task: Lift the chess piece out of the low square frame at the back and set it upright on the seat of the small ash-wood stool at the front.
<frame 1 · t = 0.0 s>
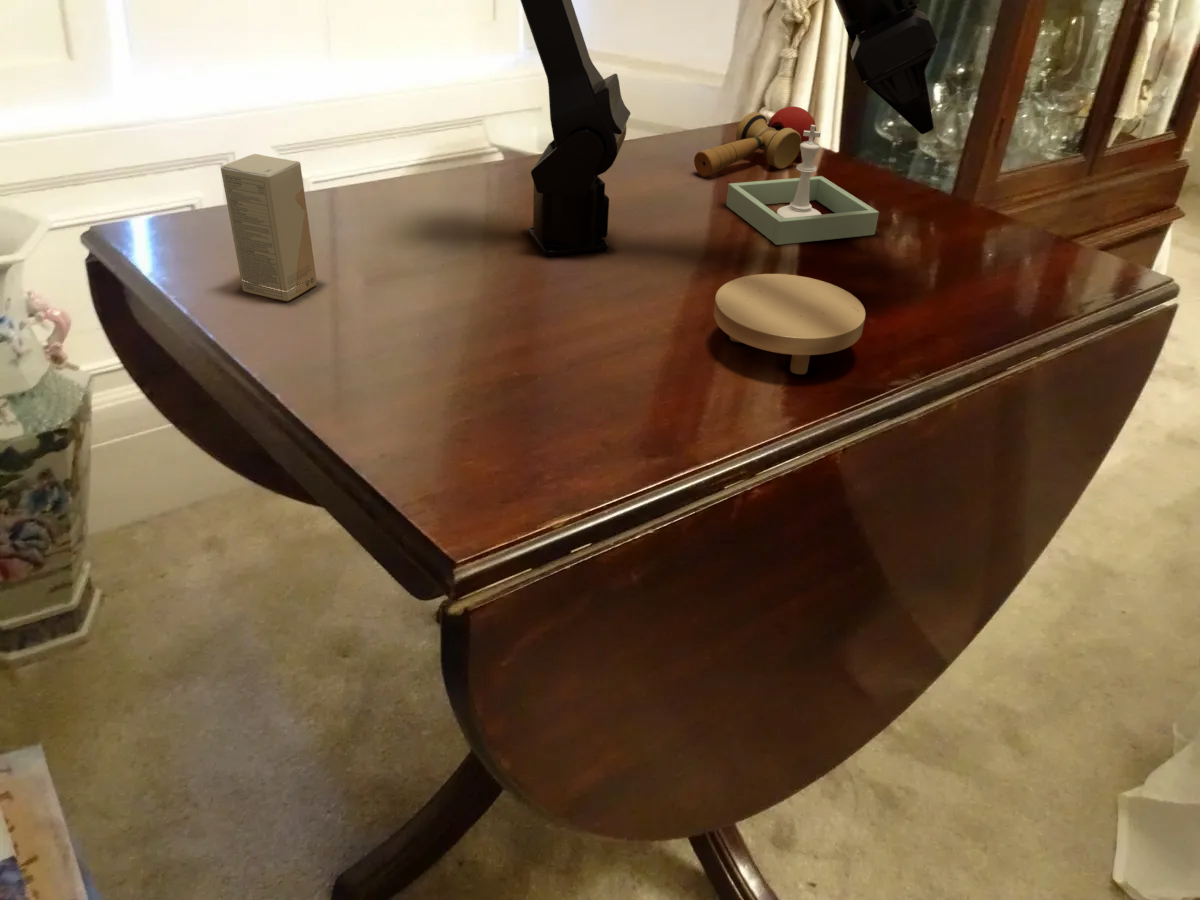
hand: (922, 116, 91), 15 cm above the table, tool tilted 35°, fingers open, 9 cm apart
square frame: (798, 220, 111), on the table
stool: (783, 348, 85), on the table
chess piece: (798, 221, 111), resting in square frame
box: (279, 290, 91), on the table
kendama: (754, 166, 126), on the table
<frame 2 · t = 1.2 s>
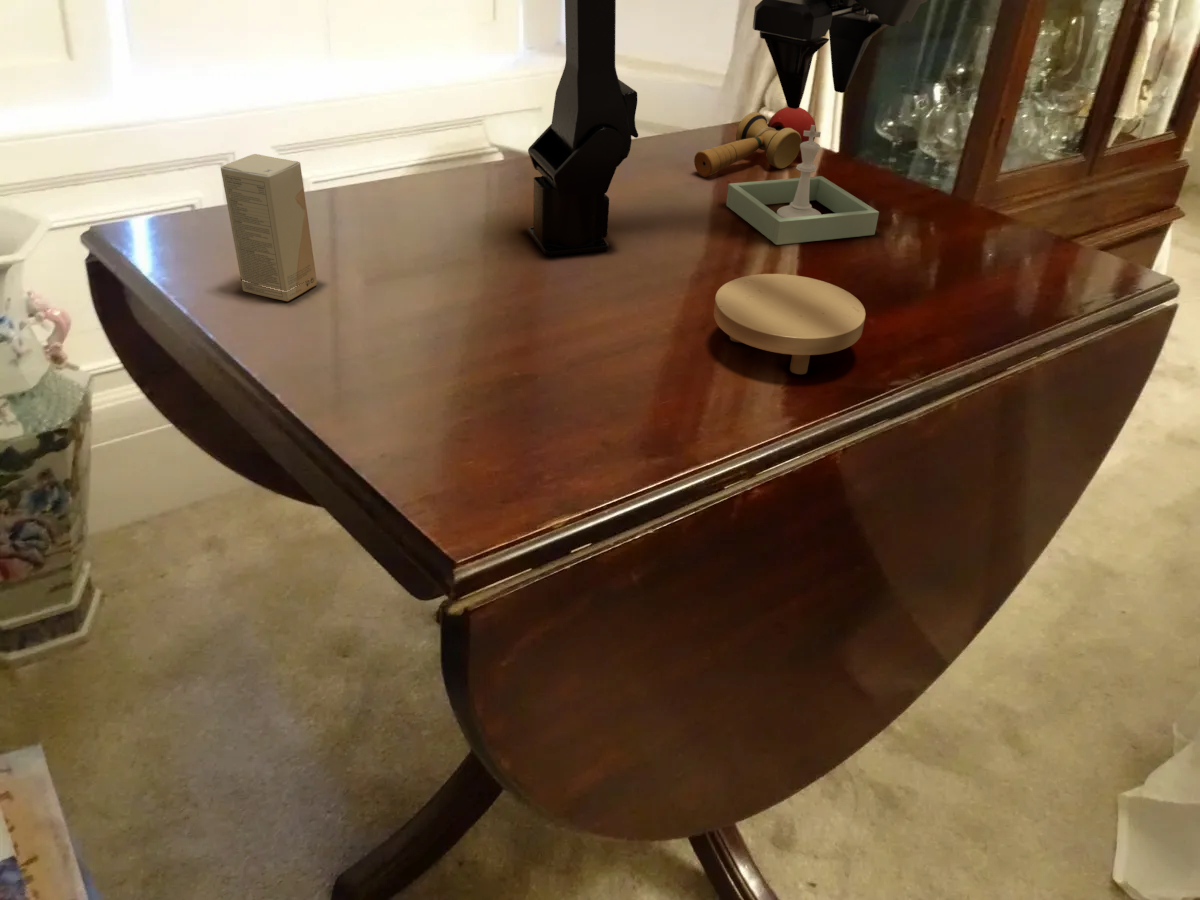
hand: (817, 99, 104), 13 cm above the table, tool pointing down, fingers open, 9 cm apart
nothing on the table moved.
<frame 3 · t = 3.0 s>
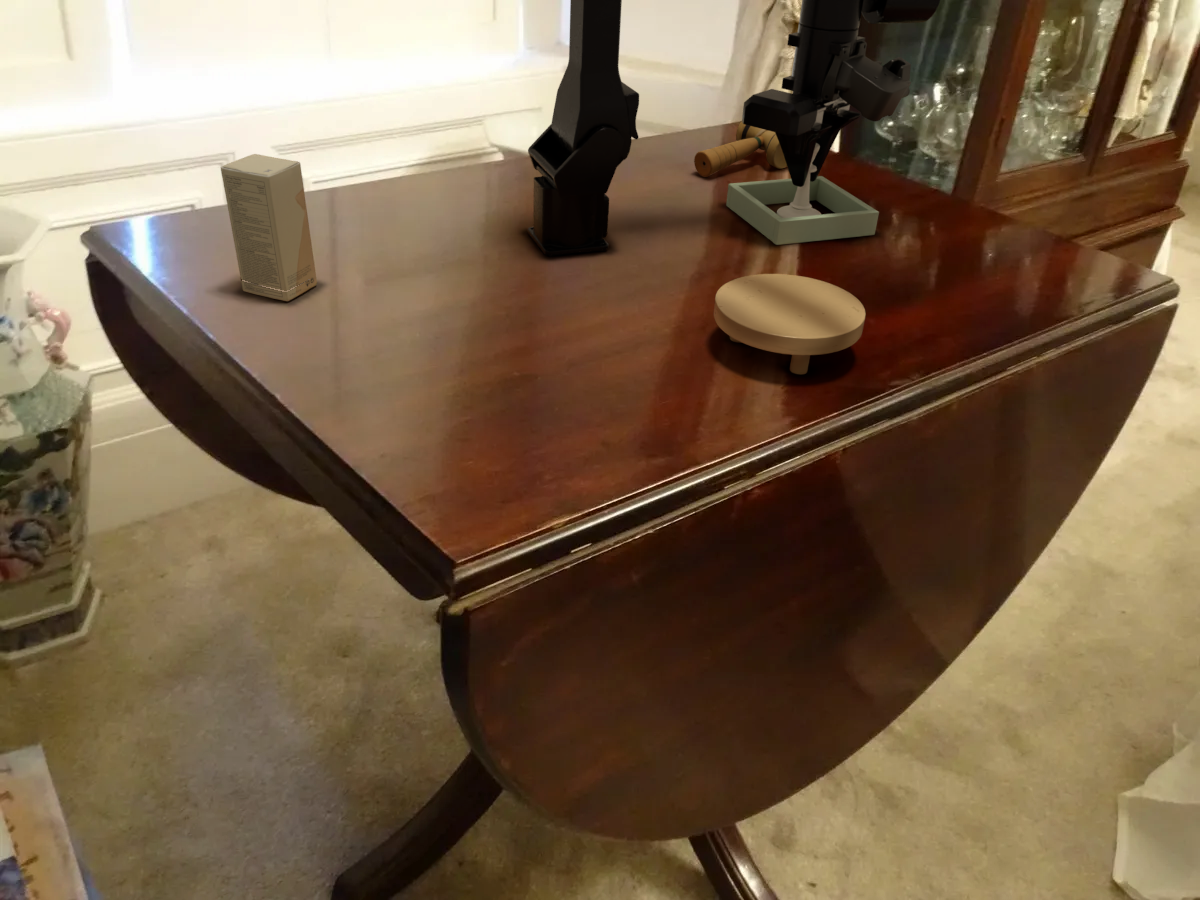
hand: (804, 183, 108), 4 cm above the table, tool pointing down, fingers closed on chess piece, 2 cm apart
chess piece: (798, 221, 111), resting in square frame, touching gripper
everything else where it was.
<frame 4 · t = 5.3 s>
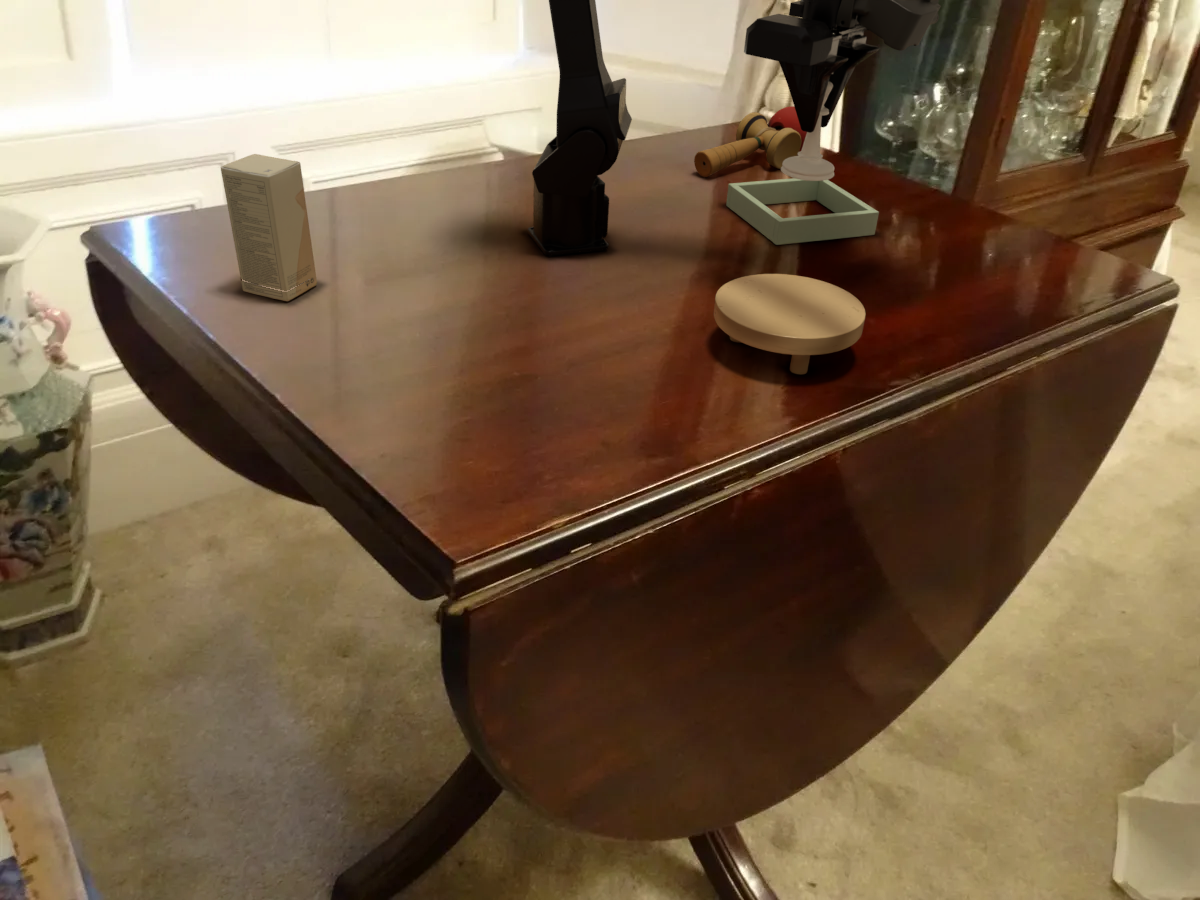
hand: (813, 129, 94), 13 cm above the table, tool pointing down, fingers closed on chess piece, 2 cm apart
chess piece: (807, 174, 96), point 9 cm above the table, touching gripper
everything else where it was.
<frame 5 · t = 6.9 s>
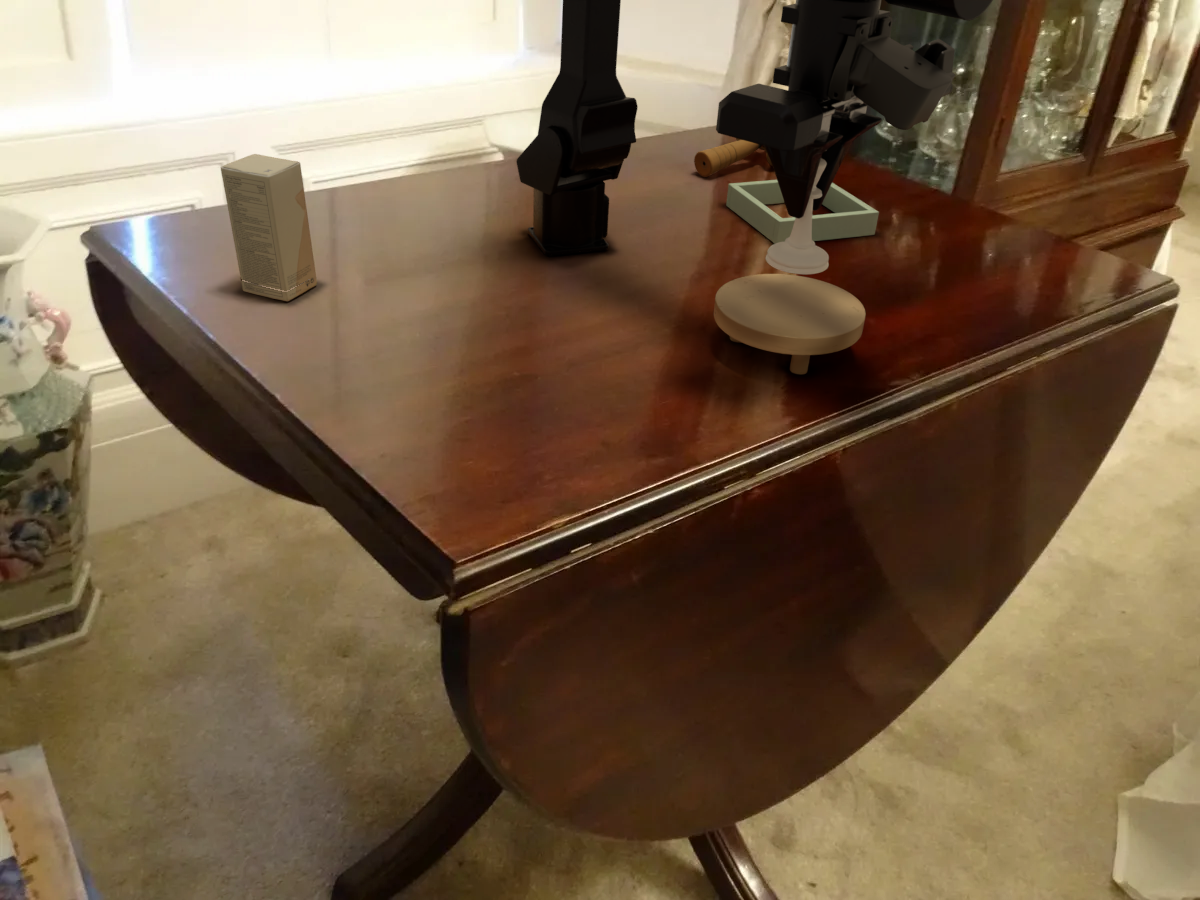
hand: (803, 213, 79), 12 cm above the table, tool pointing down, fingers closed on chess piece, 2 cm apart
chess piece: (796, 264, 81), point 7 cm above the table, touching gripper
everything else where it was.
when the fingers open (8 cm above the table, at t = 7.9 s): chess piece stays where it is, resting on stool.
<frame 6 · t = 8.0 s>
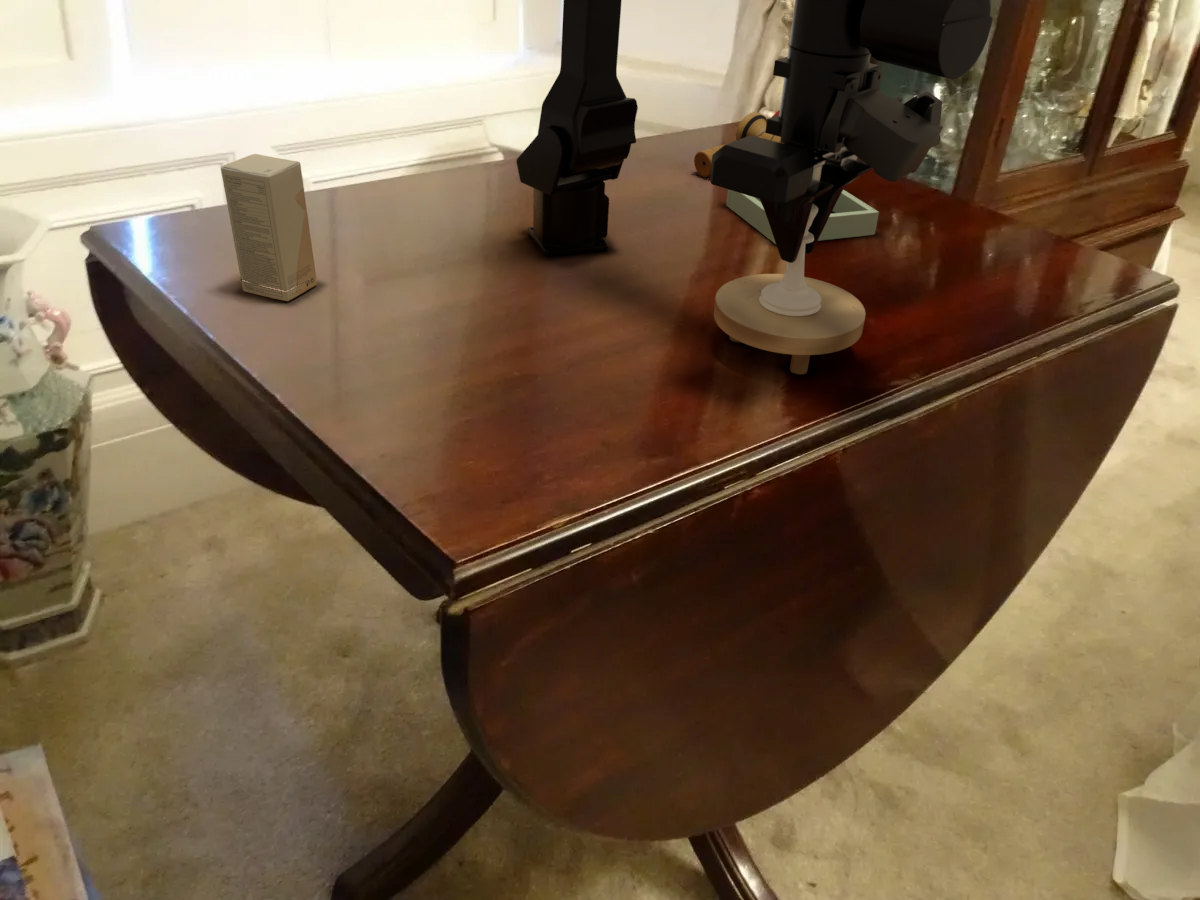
hand: (796, 256, 81), 8 cm above the table, tool pointing down
chess piece: (789, 305, 83), point 4 cm above the table, touching stool
everything else where it was.
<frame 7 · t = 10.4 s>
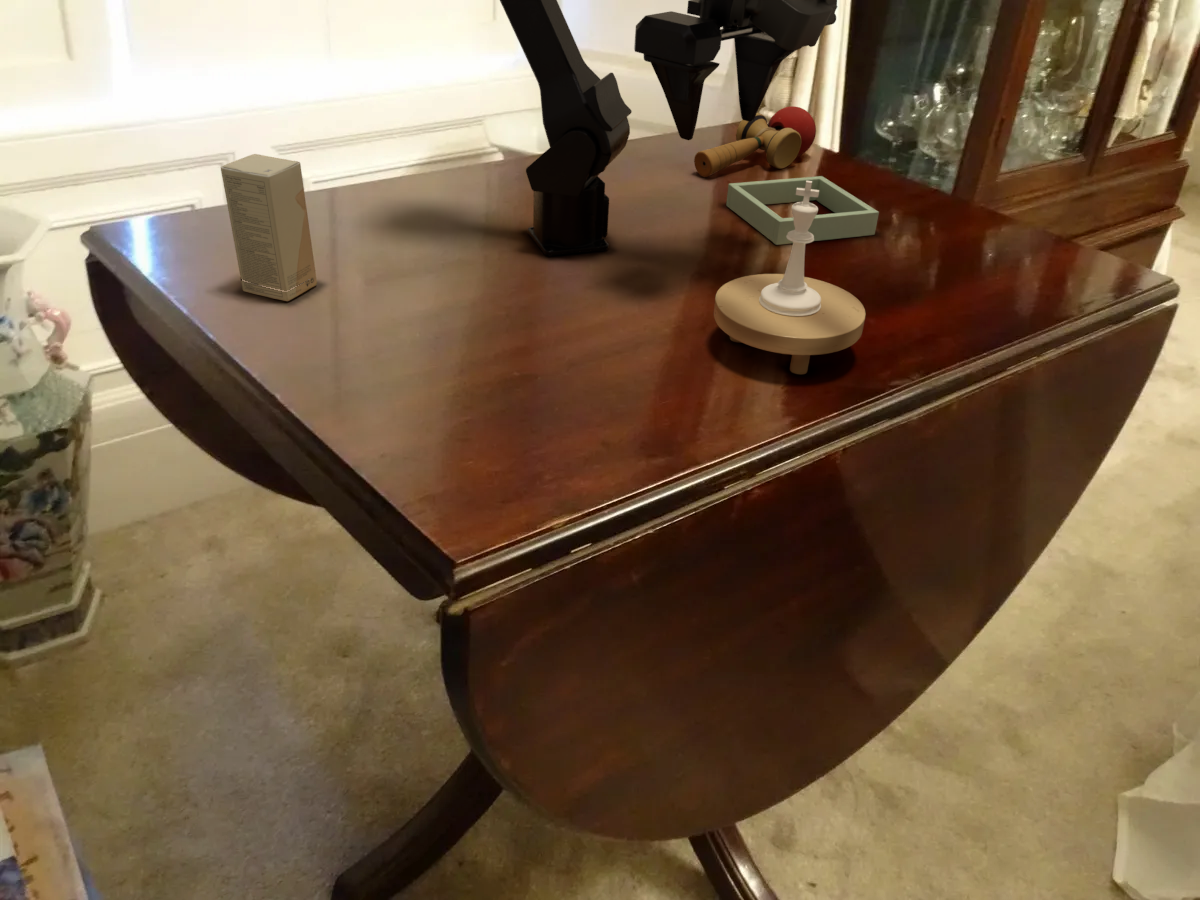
hand: (717, 129, 92), 13 cm above the table, tool pointing down, fingers open, 9 cm apart
nothing on the table moved.
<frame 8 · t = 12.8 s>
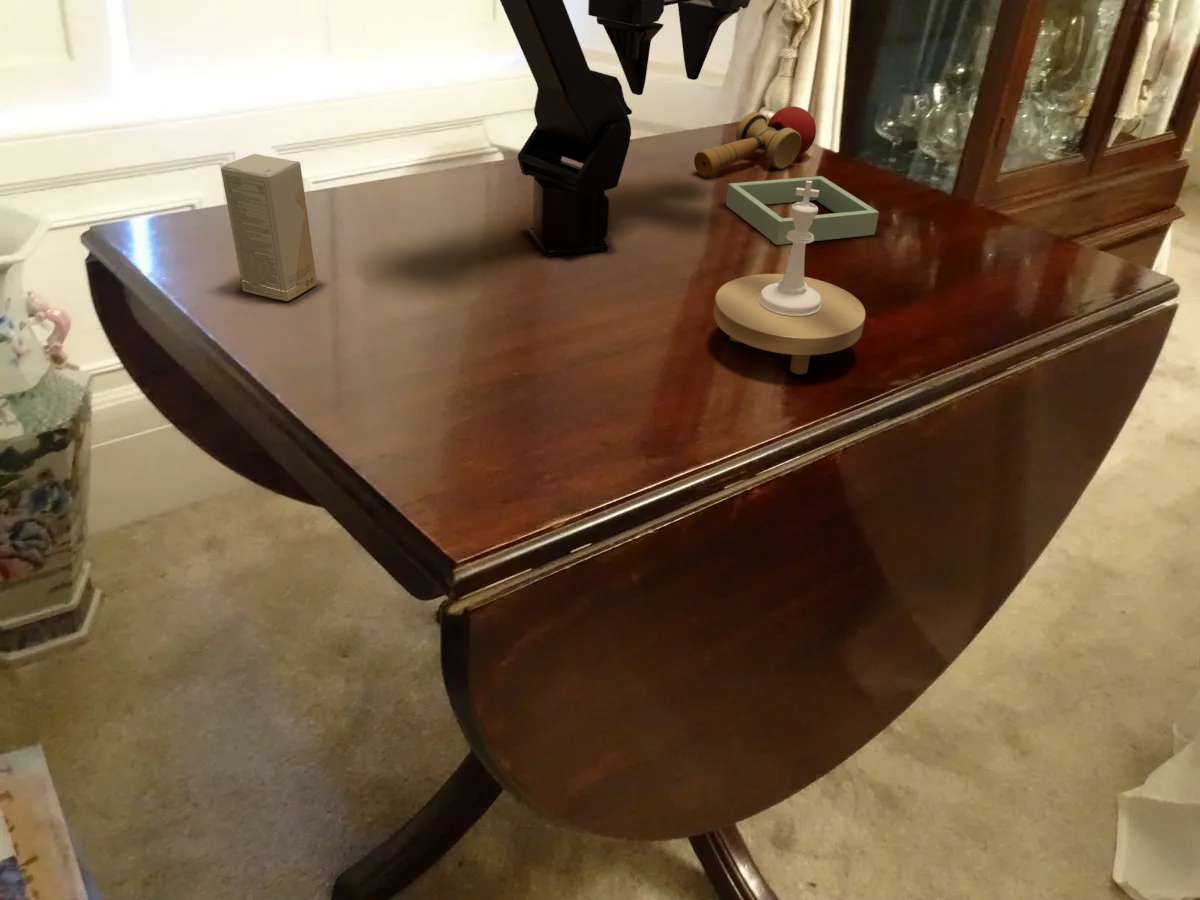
hand: (665, 86, 104), 13 cm above the table, tool pointing down, fingers open, 9 cm apart
nothing on the table moved.
at the end: chess piece 0.1 cm off-centre on the stool, point 3.8 cm above the stool's base; chess piece tilted 0°; the gripper is holding nothing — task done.
